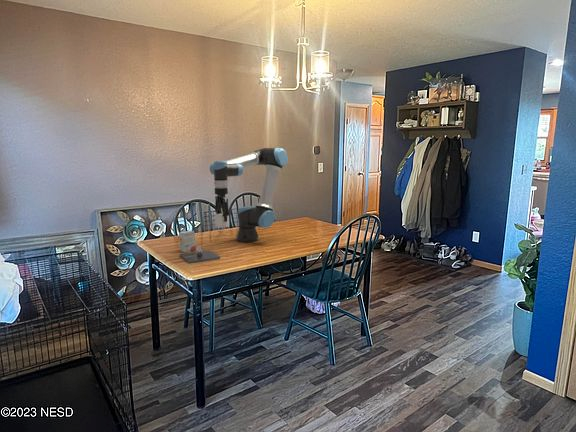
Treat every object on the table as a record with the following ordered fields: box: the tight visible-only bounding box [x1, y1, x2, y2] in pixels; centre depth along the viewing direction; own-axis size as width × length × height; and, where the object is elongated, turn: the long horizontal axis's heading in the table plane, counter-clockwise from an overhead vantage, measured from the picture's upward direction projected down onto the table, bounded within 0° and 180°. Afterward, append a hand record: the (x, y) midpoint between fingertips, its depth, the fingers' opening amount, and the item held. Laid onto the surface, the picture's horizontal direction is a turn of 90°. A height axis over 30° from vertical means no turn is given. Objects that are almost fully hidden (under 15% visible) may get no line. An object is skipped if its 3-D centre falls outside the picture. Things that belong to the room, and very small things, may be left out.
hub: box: [179, 245, 221, 264], centre depth 225 cm, size 18×18×6 cm
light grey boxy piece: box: [214, 212, 230, 229], centre depth 232 cm, size 8×8×8 cm
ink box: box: [178, 230, 197, 253], centre depth 240 cm, size 9×5×12 cm, turn 136°
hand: (222, 225), depth 232 cm, fingers closed on light grey boxy piece, 8 cm apart
